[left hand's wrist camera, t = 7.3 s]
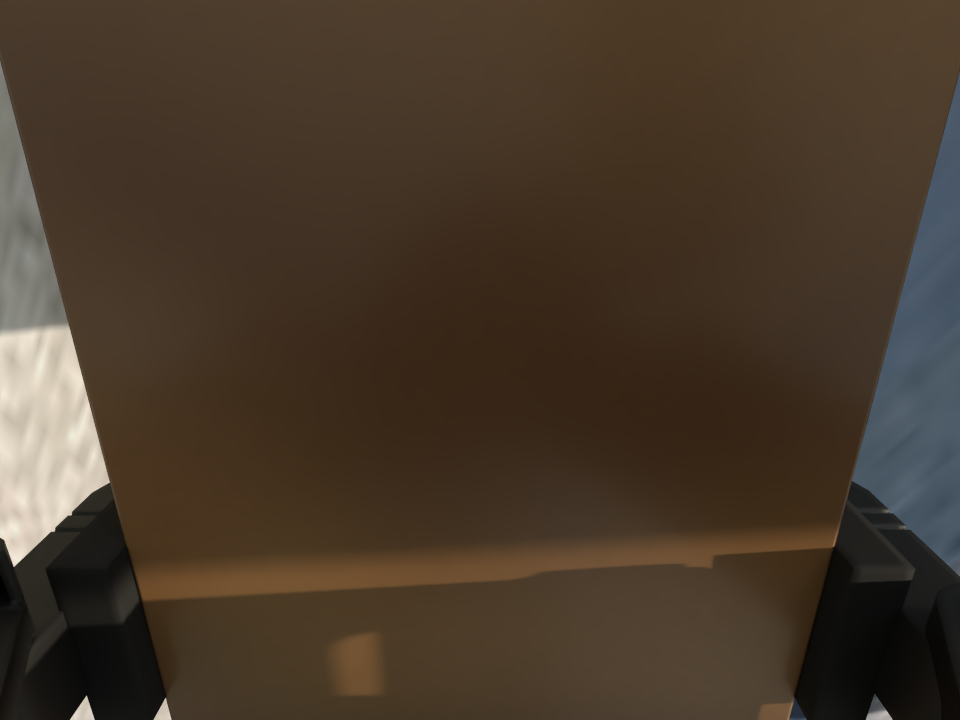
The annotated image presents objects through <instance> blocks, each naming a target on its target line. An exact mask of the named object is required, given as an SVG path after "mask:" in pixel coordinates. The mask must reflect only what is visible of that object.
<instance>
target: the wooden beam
mask: <svg viewBox="0 0 960 720" xmlns="http://www.w3.org/2000/svg"><path fill="white" fill-rule="evenodd" d="M0 61H1V65H2V69H3V73H4V76H5V80H6V84H7V88H8V92H9V96H10V100H11V103H12V107H13V111H14V115H15V119H16V123H17V126H18V130H19V134H20V138H21V142H22V146H23V150H24V153H25V157H26V161H27V165H28V169H29V173H30V177H31V180H32V184H33V188H34V192H35V196H36V200H37V203H38V207H39V211H40V215H41V219H42V223H43V227H44V230H45V234H46V238H47V242H48V246H49V250H50V253H51V257H52V261H53V265H54V269H55V273H56V277H57V280H58V284H59V288H60V292H61V296H62V300H63V303H64V307H65V311H66V315H67V319H68V323H69V327H70V330H71V334H72V338H73V342H74V346H75V350H76V354H77V357H78V361H79V365H80V369H81V373H82V377H83V380H84V384H85V388H86V392H87V396H88V400H89V404H90V407H91V411H92V415H93V419H94V423H95V427H96V430H97V434H98V438H99V442H100V446H101V450H102V454H103V457H104V461H105V465H106V469H107V473H108V477H109V480H110V484H111V488H112V492H113V496H114V500H115V504H116V507H117V511H118V515H119V519H120V523H121V527H122V531H123V534H124V538H125V542H126V546H127V550H128V554H129V557H130V561H131V565H132V569H133V573H134V577H135V581H136V584H137V588H138V592H139V596H140V600H141V604H142V607H143V611H144V615H145V619H146V623H147V627H148V631H149V634H150V638H151V642H152V646H153V650H154V654H155V657H156V661H157V665H158V669H159V673H160V677H161V681H162V684H163V688H164V692H165V696H166V700H167V704H168V708H169V711H170V715H171V719H172V720H789V717H790V713H791V709H792V706H793V702H794V698H795V694H796V690H797V687H798V683H799V679H800V675H801V671H802V668H803V664H804V660H805V656H806V652H807V649H808V645H809V641H810V637H811V633H812V630H813V626H814V622H815V618H816V614H817V611H818V607H819V603H820V599H821V596H822V592H823V588H824V584H825V580H826V577H827V573H828V569H829V565H830V561H831V558H832V554H833V550H834V546H835V542H836V539H837V535H838V531H839V527H840V523H841V520H842V516H843V512H844V508H845V505H846V501H847V497H848V493H849V489H850V486H851V482H852V478H853V474H854V470H855V467H856V463H857V459H858V455H859V451H860V448H861V444H862V440H863V436H864V432H865V429H866V425H867V421H868V417H869V413H870V410H871V406H872V402H873V398H874V395H875V391H876V387H877V383H878V379H879V376H880V372H881V368H882V364H883V360H884V357H885V353H886V349H887V345H888V341H889V338H890V334H891V330H892V326H893V322H894V319H895V315H896V311H897V307H898V304H899V300H900V296H901V292H902V288H903V285H904V281H905V277H906V273H907V269H908V266H909V262H910V258H911V254H912V250H913V247H914V243H915V239H916V235H917V231H918V228H919V224H920V220H921V216H922V212H923V209H924V205H925V201H926V197H927V194H928V190H929V186H930V182H931V178H932V175H933V171H934V167H935V163H936V159H937V156H938V152H939V148H940V144H941V140H942V137H943V133H944V129H945V125H946V121H947V118H948V114H949V110H950V106H951V103H952V99H953V95H954V91H955V87H956V84H957V80H958V76H959V72H960V0H0Z"/></svg>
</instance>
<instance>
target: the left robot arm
mask: <svg viewBox="0 0 960 720" xmlns="http://www.w3.org/2000/svg"><path fill="white" fill-rule="evenodd" d="M55 529H56V530H55V532H50V533H49V534H48V535H47V536H46V537H45V538H44V539H43V540H42V541H41V542H40V543H39V544H38V545H37V546H36V547H35V548H34V549H33V550H32V551H31V552H29V553H28V554H27V555H26V556H25V557H24V558H23V559H22V560H21V561H20V562H19V563H18V564H17V565H16V566H15V567H13V564H12V561H11V558H10V555H9V553H8V550H7V547H6V544H5V541H4V540H3V539H1V538H0V720H70V719H71V717H72V716H73V714H74V713H75V711H76V710H77V708H78V707H79V705H80V704H81V703H82V701H83V700H84V698H85V697H86V695H87V697H88V700H89V703H90V706H91V709H92V713H93V716H94V719H95V720H154V718H155V716H156V714H157V712H158V710H159V709H160V707H161V705H162V703H163V701H164V699H165V698H166V696H165V692H164V688H163V684H162V681H161V677H160V673H159V669H158V665H157V661H156V657H155V654H154V650H153V646H152V642H151V638H150V634H149V631H148V627H147V623H146V619H145V615H144V611H143V607H142V604H141V600H140V596H139V592H138V588H137V584H136V581H135V577H134V573H133V569H132V565H131V561H130V557H129V554H128V550H127V546H126V542H125V538H124V534H123V531H122V527H121V523H120V519H119V515H118V511H117V507H116V504H115V500H114V496H113V492H112V488H111V484H110V483H108V484H107V485H105V486H103V487H101V488H100V489H98V490H96V491H94V492H93V493H91V494H90V495H89V496H88V497H87V498H86V499H85V500H84V501H83V502H82V503H81V504H80V505H79V506H78V507H77V508H76V509H75V510H74V511H73V512H72V516H67V517H66V518H65V519H64V520H63V521H62V522H61V523H60V524H59V525H58V526H57V527H56V528H55ZM874 693H875V694H876V696H877V697H878V699H879V700H880V702H881V703H882V704H883V706H884V707H885V709H886V710H887V712H888V713H889V715H890V716H891V717H892V719H893V720H960V576H959V575H957V574H956V573H955V572H954V571H953V570H952V569H951V568H950V567H949V566H948V565H947V564H946V563H945V562H944V561H943V560H942V559H941V558H939V557H938V556H937V555H936V554H935V553H934V552H933V551H932V550H931V549H930V548H929V547H928V546H927V545H926V544H925V543H924V542H923V541H921V540H920V539H919V538H918V537H917V536H916V535H915V534H914V533H913V532H912V531H911V530H906V525H905V524H904V523H902V522H901V521H900V520H899V519H898V518H897V517H896V516H895V515H894V514H890V513H889V509H888V508H887V507H886V506H884V505H883V504H882V503H881V502H880V501H879V500H878V499H877V498H876V497H875V496H874V495H873V494H872V493H871V492H870V491H868V490H867V489H865V488H863V487H861V486H860V485H858V484H856V483H854V482H853V481H852V482H851V486H850V489H849V493H848V497H847V501H846V505H845V508H844V512H843V516H842V520H841V523H840V527H839V531H838V535H837V539H836V542H835V546H834V550H833V554H832V558H831V561H830V565H829V569H828V573H827V577H826V580H825V584H824V588H823V592H822V596H821V599H820V603H819V607H818V611H817V614H816V618H815V622H814V626H813V630H812V633H811V637H810V641H809V645H808V649H807V652H806V656H805V660H804V664H803V668H802V671H801V675H800V679H799V683H798V687H797V690H796V694H795V699H796V700H797V702H798V704H799V706H800V708H801V710H802V711H803V713H804V715H805V717H806V719H807V720H866V717H867V714H868V711H869V708H870V705H871V702H872V699H873V696H874Z"/></svg>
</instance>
